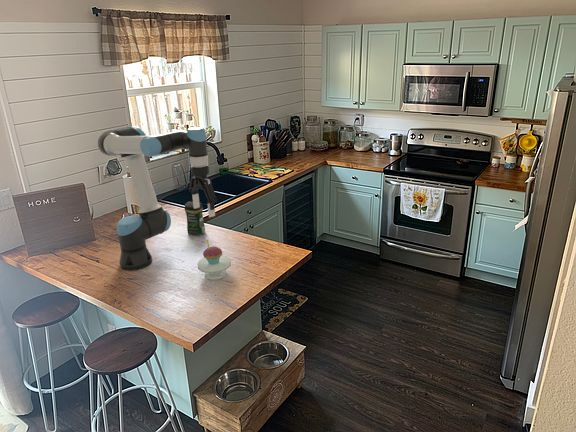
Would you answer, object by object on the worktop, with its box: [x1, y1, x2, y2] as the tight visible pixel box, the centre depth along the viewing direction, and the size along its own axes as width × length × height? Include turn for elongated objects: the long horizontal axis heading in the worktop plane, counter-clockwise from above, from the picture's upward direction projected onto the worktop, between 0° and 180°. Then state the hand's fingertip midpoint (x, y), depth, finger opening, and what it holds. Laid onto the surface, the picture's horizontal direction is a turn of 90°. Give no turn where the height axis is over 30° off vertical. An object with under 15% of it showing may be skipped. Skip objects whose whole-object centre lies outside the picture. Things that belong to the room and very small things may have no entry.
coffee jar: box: [184, 201, 206, 236], centre depth 244 cm, size 10×8×19 cm
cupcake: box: [202, 238, 223, 265], centre depth 197 cm, size 9×8×12 cm
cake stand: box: [197, 254, 232, 281], centre depth 200 cm, size 15×15×6 cm
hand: (204, 212), depth 192 cm, fingers open, 13 cm apart
